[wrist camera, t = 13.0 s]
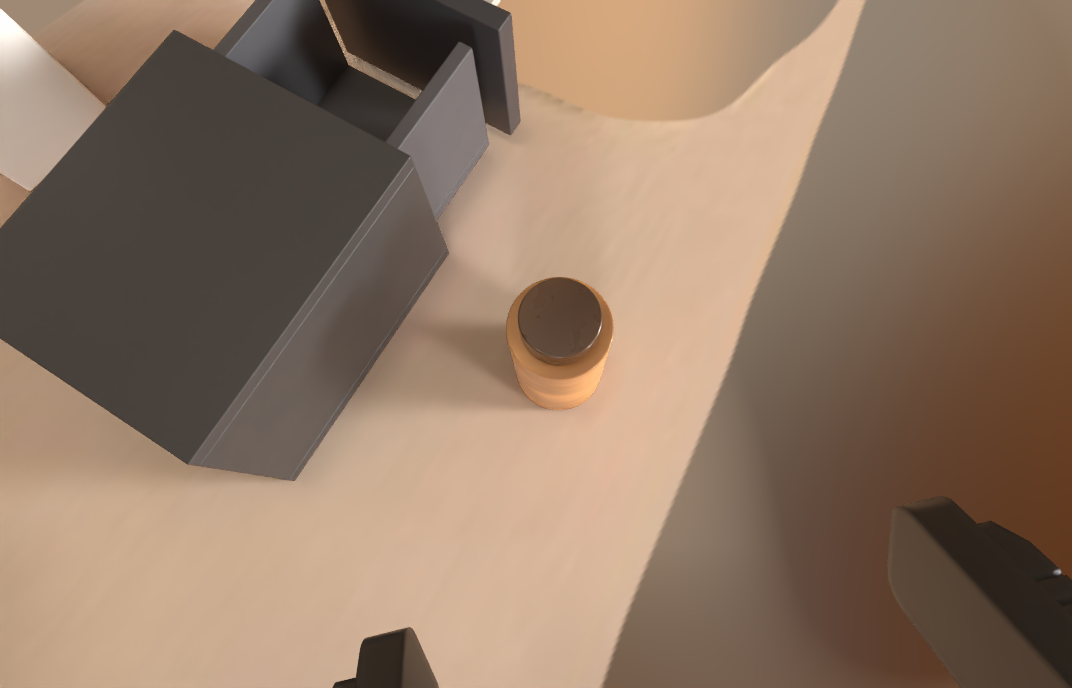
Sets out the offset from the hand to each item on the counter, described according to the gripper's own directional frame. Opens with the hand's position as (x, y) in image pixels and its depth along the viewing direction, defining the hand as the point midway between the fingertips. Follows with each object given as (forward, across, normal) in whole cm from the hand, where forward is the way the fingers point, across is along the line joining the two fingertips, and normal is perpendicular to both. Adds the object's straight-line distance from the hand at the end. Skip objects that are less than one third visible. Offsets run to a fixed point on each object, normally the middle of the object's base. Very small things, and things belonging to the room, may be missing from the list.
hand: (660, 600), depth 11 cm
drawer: (+35, -6, +3) cm, 35 cm away
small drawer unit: (+29, -15, -4) cm, 33 cm away
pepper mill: (+24, 0, -10) cm, 26 cm away
